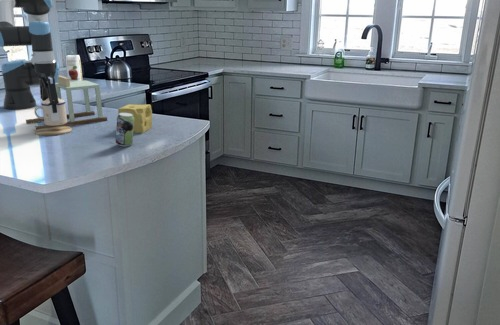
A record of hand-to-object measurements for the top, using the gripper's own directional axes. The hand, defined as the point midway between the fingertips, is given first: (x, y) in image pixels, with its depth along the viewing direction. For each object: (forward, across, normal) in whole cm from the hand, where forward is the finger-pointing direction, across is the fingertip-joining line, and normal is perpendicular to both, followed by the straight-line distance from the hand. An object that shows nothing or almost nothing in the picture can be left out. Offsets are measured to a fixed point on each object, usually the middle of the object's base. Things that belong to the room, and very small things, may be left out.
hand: (51, 118), depth 193 cm
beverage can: (+6, +38, +15) cm, 41 cm away
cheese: (+6, +18, +28) cm, 34 cm away
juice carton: (+6, -126, +50) cm, 136 cm away
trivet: (+5, 0, 0) cm, 5 cm away
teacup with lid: (+2, 0, 0) cm, 2 cm away
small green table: (+4, -15, +16) cm, 22 cm away
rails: (+5, -15, +10) cm, 19 cm away
